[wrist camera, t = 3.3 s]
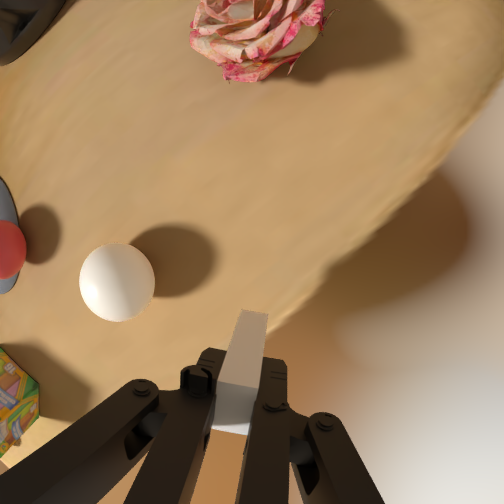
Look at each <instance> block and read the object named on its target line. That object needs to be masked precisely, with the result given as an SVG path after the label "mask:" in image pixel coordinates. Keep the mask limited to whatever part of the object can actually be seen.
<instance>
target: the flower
mask: <svg viewBox="0 0 504 504" xmlns="http://www.w3.org/2000/svg"><path fill="white" fill-rule="evenodd" d="M324 3H325V0H201V3H200V4H199V5H198V7H197V10H196V14H195V17H194V20H193V21H192V23H191V25H190V27H191V28H192V29H194V30H196V31H191V32H190V43H191V47H192V48H193V49H194V50H196V51H197V52H199V53H201V54H202V55H204V56H206V57H207V58H209V59H211V60H213V61H214V62H217V63H218V64H217V66H222V68H223V77H224V79H225V80H228V81H229V80H231V79H233V80H235V81H241V82H258V81H261V80H263V79H265V78H266V77H267V76H268V75H269V74H271V73H272V72H273V71H274V70H275V69H276V68H278V67H279V66H280V65H281V64H283V63H285V62H287V61H288V63H289V64H290V66H291V67H290V70H289V72H288V74H289V73H290V72H291V70H292V67H293V66H294V64H295V62H296V61H297V59H298V58H299V57H300V55H301V54H302V52H303V51H304V50H305V49H306V48H307V47H309V46H310V45H311V44H312V43H313V42H314V40H315V39H316V38H317V35H318V34H320V35H322V33H321V32H320V31H322V30H324V28H323V27H325V26H326V24H327V21H328V19H329V18H330V16H331V15H332V14H333V13H334V11H336V10H338V9H335V10H332V11H331V12H330V13H329V15H328V17H327V18H326V19H325V20H324V18H325V17H323V10H325V6H324ZM338 11H339V10H338ZM322 36H323V35H322ZM199 48H200V49H199ZM288 74H287V75H288ZM286 77H287V76H286ZM229 84H230V82H229Z"/></svg>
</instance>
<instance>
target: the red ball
mask: <svg viewBox="0 0 504 504" xmlns="http://www.w3.org/2000/svg"><path fill="white" fill-rule="evenodd" d="M26 251H27V250H26V241H25V238H24V235H23V233H22V232H21V230H20V229H19V228H18V227H17V226H16V225H15V224H14V223H12V222H10V221H7V220H0V279H8V278H11V277H13V276H14V275H15V274H17V273H18V272H19V271H20V269H21V268H22V266H23V264H24V261H25V258H26Z"/></svg>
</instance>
